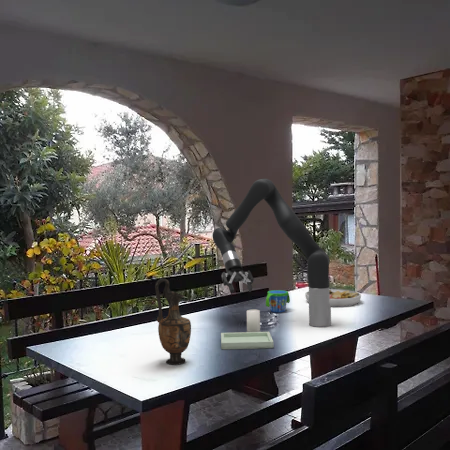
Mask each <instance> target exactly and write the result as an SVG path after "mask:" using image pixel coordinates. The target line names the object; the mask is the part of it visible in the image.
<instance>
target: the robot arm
mask: <svg viewBox="0 0 450 450" xmlns="http://www.w3.org/2000/svg"><path fill="white" fill-rule="evenodd" d="M275 185H276V184H274V182H273V181H272V180H270V179H269V178H261V179H257V180H255V181H254V182H253V183H252V184H251V186H250V188H249V190H248V192H247V194H246V196H245V197H244V199H243V200H242V201H241V202H240V203H239V205H238V206H237V208H236V209H235V210H234V211H233V213H232V214H231V215H230V216H229V218H228V219H227V220H226V221H225V226H226V227H227V229H223V228H220V227H217V228H214V230H213V231H212V240H213V243H214V244H215V246H216V247H217V249H218V251H220V255H221V258H222V262H223V265H224V268H225V271H223V272H222V273H221V280H222V283H223V284H222V285H223V286H224V287H225V286H227V287H228V290H229V292H230V293H231V294H233V293H234V292H235V288H234V285H233V282H234V283H237V282H239V283H240V282H242V283H243V284H246V287H247V289H248V292H250V293H251V292H252V290H253V286H252V284H253V283H254V281H255V279H254V276H253V274H252V272H251V271H250V270H247V271H245V270H243V269H244V268H243V265H242V262H241V259H240V258H239V255H238V253H237V249H235V246H234V244H233V243H234V242H233V241H234V240H235V237H236V236H237V234H238V230H239V229H240V228H241V227H242V226H243V225H244V224H245V222H246V221H247V220H248V217H250V214H251V213H252V211H253V209H255V207H256V206H257V205H258V204H259V203H261V201H263V200H264V201H265V202H266V203H267V205H268V206H269V207H270V208H271V210H272V213H273V215H274V217H275V220H276V223H277V225H278V226H279V227H280V229H281V230H282V231H283V233H284V234H285V236H286V237H288V238H289V240H291V241H292V243H294V244H295V245H296V246H297V247H298V248H299V249H300V250H301V251H302V253H303V254H304V255H305V257H306V259H307V280H308V291H309V302H308V324H309V326H311V327H315V328H316V327H318V328H323V327H324V328H325V327H331V326H332V307H331V305H330V298H329V289H330V276H329V275H330V273H329V272H330V271H329V266H330V262H331V260H330V257H329V255H328V254H327V253H326V252H325V251H324V249H322V248H321V246H320V245H319V244H318V243H317V242H316V241H315V240H314V238H313V237H312V235H311V234H310V232H309V231H308V229H307V228H306V226H305V225H304V223H303V222H302V221H301V219H300V218H299V217H298V216H297V214H296V213H295V212H294V211H293V209H292V208H291V207H290V205H288V203H287V202H286V201H285V199H284V198H283V197H282V194H280V192H279V190H278V188H277V187H276V186H275ZM227 277H228V278H229V281H228V278H227Z"/></svg>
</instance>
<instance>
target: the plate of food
mask: <svg viewBox="0 0 450 450" xmlns="http://www.w3.org/2000/svg"><path fill="white" fill-rule="evenodd" d="M361 297H362V295H361V293H360V292H358V291H354V290H348V289H338V288H337V289H335V288H331V289H330V288H329V298H330V305H331V308H343V307H345V308H346V307H351V306H354V305H356V304H358V303H359V302H360V301H361V299H362V298H361ZM305 299H306V301H307V302H308V303H309V290H308V291H307V292H305Z"/></svg>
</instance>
